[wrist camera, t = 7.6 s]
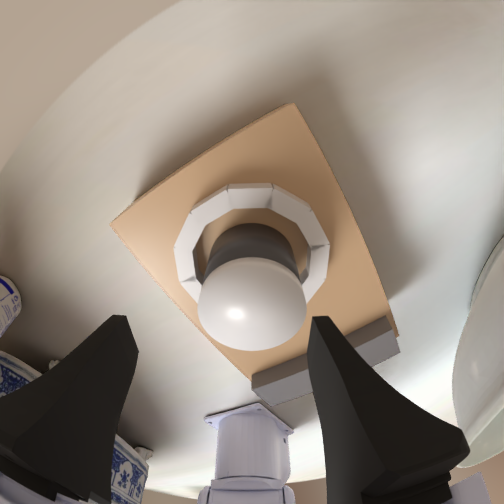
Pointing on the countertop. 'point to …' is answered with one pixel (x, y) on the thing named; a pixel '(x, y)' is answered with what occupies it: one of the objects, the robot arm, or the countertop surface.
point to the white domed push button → (251, 289)
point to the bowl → (482, 365)
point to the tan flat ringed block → (278, 217)
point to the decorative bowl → (124, 456)
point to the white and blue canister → (8, 303)
